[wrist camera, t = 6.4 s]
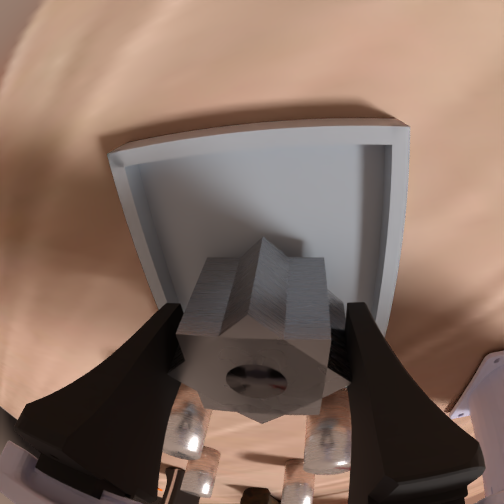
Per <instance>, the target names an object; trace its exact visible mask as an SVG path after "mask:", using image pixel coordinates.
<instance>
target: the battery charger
mask: <svg viewBox="0 0 504 504" xmlns="http://www.w3.org/2000/svg"><path fill="white" fill-rule="evenodd" d="M165 472H166V476H167V485H166V489H165V492H164V495H163V498H162V500H160V501H159V502H158V504H199V499H200V497H198V496H194V495H190V494H187V493H185V492H183V491H181V490H180V489H181V485H182V481H183V478H184V474H185V471H183V470H180V469H172V468H167V469H166V470H165Z"/></svg>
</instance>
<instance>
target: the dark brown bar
mask: <svg viewBox="0 0 504 504" xmlns="http://www.w3.org/2000/svg"><path fill="white" fill-rule="evenodd" d="M270 494H271V493H270V492H269V490H268V489H266V488H248V489H246V490H245V491H244V493H243V497H242V498H241V501H240V504H281V503H279V502H278V501H277V500H275V499H274V498H273V497H271V496H270Z"/></svg>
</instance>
